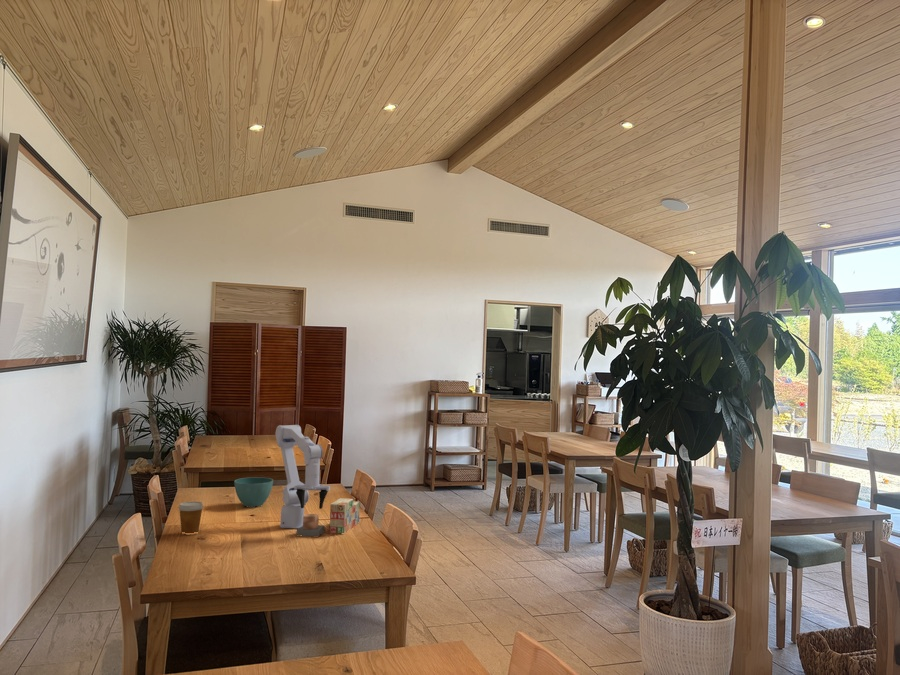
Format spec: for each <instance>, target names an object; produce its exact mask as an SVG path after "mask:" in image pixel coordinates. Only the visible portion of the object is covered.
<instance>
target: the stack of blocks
mask: <svg viewBox="0 0 900 675" xmlns="http://www.w3.org/2000/svg"><path fill="white" fill-rule="evenodd" d="M329 511H330V512H329V534H332V533H345V532H346V533H348V532H349V531H350V530H352V527H353V526H354V525H355V526H356V525H358V524H359V523H360V501H355V500H354V498H341V497H340V498H338V499H336V500H335V501H334V502H332V503H330V510H329ZM358 522H359V523H358ZM357 523H358V524H357ZM355 526H354V527H355ZM354 527H353V528H354ZM349 529H350V530H349ZM348 530H349V531H348ZM347 531H348V532H347ZM346 533H345V534H346Z"/></svg>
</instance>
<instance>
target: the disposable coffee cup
mask: <svg viewBox="0 0 900 675" xmlns="http://www.w3.org/2000/svg"><path fill="white" fill-rule="evenodd" d="M203 508H204V505H203V502H202V501H185V502H181V503H179V505H178V510H179V519H180V520H179V521H180V529H181V533H182V532H185V533H194V532H198V533H199V530H200V525H201V518H202V513H203V512H202V511H203Z"/></svg>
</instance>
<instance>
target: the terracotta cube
mask: <svg viewBox="0 0 900 675" xmlns="http://www.w3.org/2000/svg"><path fill="white" fill-rule="evenodd" d="M319 517H320V515H319V513H306V514H304V516H303V529H316V528H317V527H318V525H319V520H320V518H319Z"/></svg>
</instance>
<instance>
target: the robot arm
mask: <svg viewBox="0 0 900 675" xmlns="http://www.w3.org/2000/svg"><path fill="white" fill-rule="evenodd" d="M274 435H275V440H276V444H277V446H278V447H279V448H280V451H281V455H282V461H283V466H284V470H285V476H286V480H287V484H286V485H285V486H284V487H283V490H282V501H283V503H284V504H283V505H282V506H281V511H280V526H279V528H281V529H284V528H285V529H299V528H300V527H301V526H303V516H305V506H306V505H307V503H308V502H309V500H310V493H309V491H318V495H319V496H318V497H319V505H318V507H319V508H318V509H319V510H322V509H323V506H324V502H325V499H326V496H327V494H328V493H329V492H330V491H331V485H327V484H325V485H324V484H320V470H321V469H320V468H321V463H320V462H321V459H322V458H323V454H324V453H323V447H322V446H321V444H316V443H314V442H313V441H312V439H310V437H309V436H304V435H303V433H302V427H301V426H300V425H299V424H290V425H288V424H287V425H281V424H279V425H278V426H277V427H276V429H275V434H274ZM295 446H297V447H298V448H299V450H301V452H302V454H303V458H304V460H303V461H304V464H305V473H304V474H305V476H304V477H305V478H304V480H305V481H304V483H303V482H301V481H300V477H299V472H298V467H297V462H296V457H295V451H294V447H295Z"/></svg>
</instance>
